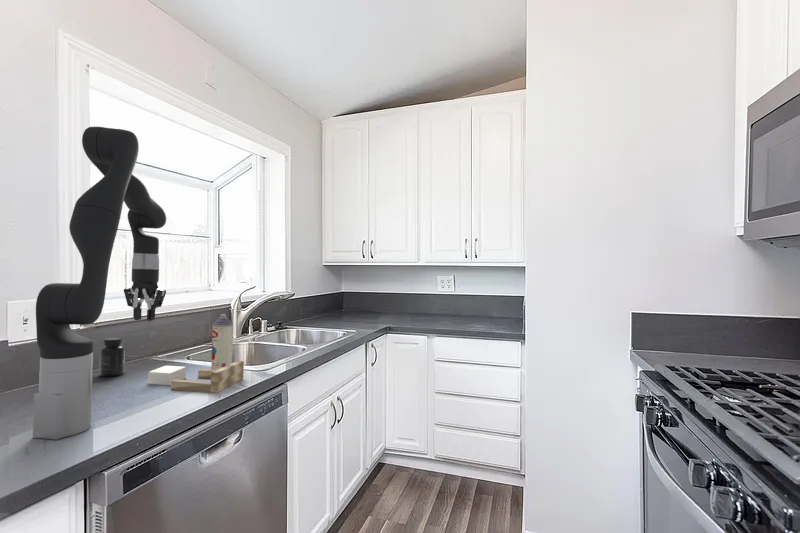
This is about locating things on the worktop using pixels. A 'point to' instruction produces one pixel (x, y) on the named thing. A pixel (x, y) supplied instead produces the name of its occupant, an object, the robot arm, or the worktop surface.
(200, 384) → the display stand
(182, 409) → the worktop surface
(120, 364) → the supplement bottle
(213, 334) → the aerosol can
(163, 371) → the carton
